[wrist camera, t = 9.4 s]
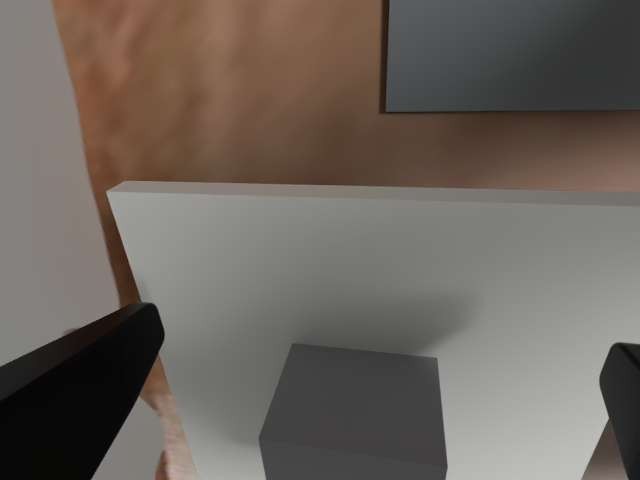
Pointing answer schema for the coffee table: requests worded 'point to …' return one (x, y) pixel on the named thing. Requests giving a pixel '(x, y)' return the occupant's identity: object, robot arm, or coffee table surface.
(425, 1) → the mat
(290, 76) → the coffee table surface
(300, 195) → the lid
